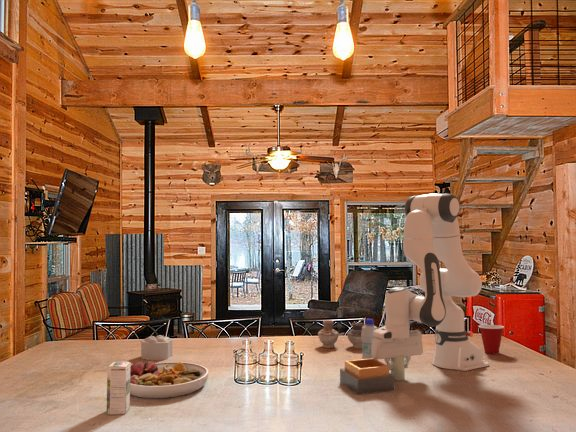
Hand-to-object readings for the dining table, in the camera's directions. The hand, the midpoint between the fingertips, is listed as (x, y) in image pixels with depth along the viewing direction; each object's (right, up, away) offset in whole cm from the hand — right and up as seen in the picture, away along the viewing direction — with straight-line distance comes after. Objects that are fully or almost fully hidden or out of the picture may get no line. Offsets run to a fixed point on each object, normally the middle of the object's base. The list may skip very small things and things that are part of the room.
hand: (397, 368), depth 187 cm
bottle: (-8, -4, +12) cm, 15 cm away
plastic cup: (+50, -4, +38) cm, 63 cm away
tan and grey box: (-13, -4, -9) cm, 16 cm away
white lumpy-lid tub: (-98, -5, +33) cm, 104 cm away
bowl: (-84, -4, -8) cm, 85 cm away
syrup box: (-93, -4, -32) cm, 98 cm away
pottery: (-14, -5, +50) cm, 52 cm away
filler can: (0, -4, 0) cm, 4 cm away
